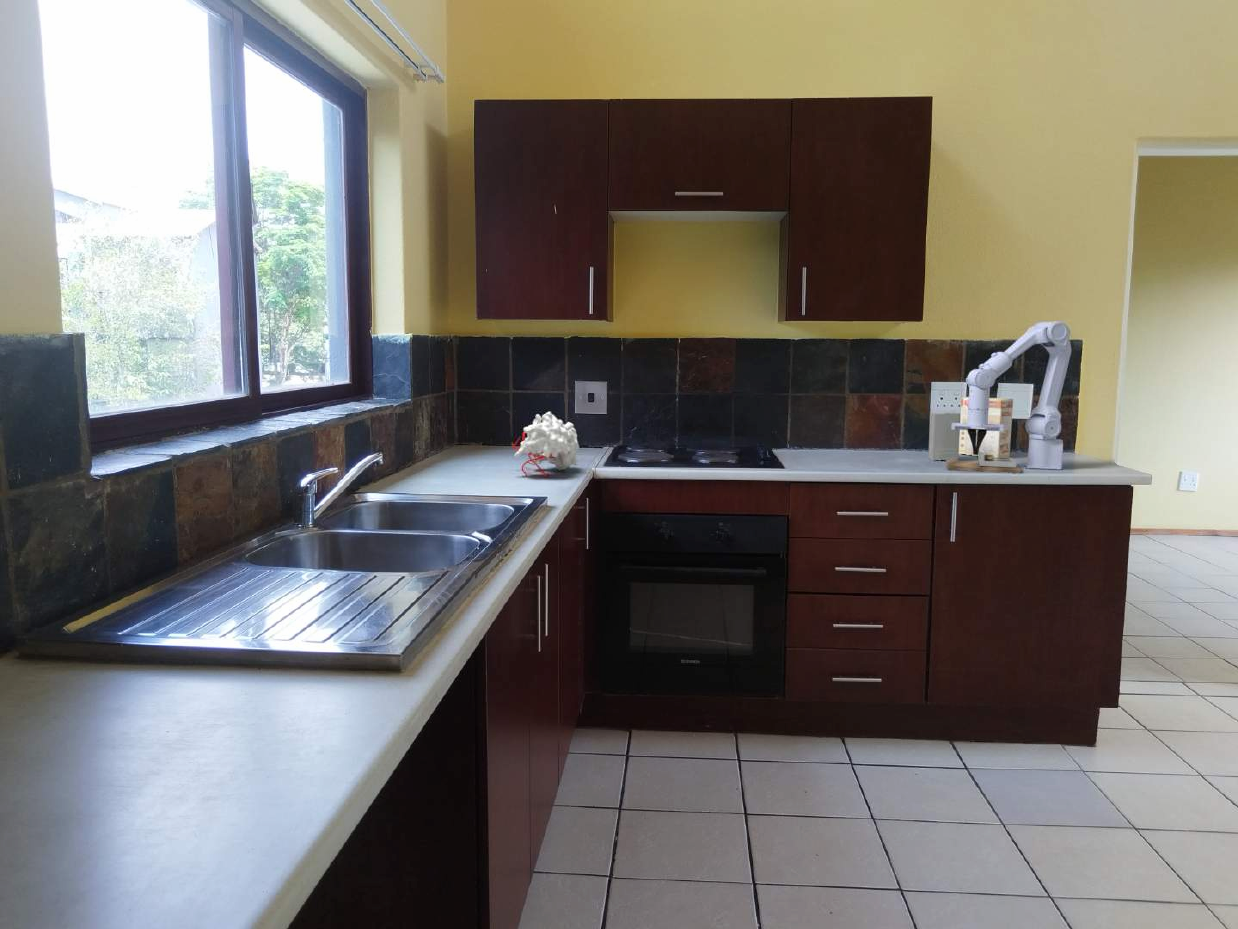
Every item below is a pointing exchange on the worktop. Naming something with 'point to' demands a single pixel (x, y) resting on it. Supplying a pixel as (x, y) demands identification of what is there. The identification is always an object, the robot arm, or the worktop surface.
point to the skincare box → (943, 435)
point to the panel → (995, 460)
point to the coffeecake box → (993, 440)
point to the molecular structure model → (549, 443)
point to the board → (975, 466)
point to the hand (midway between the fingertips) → (975, 454)
